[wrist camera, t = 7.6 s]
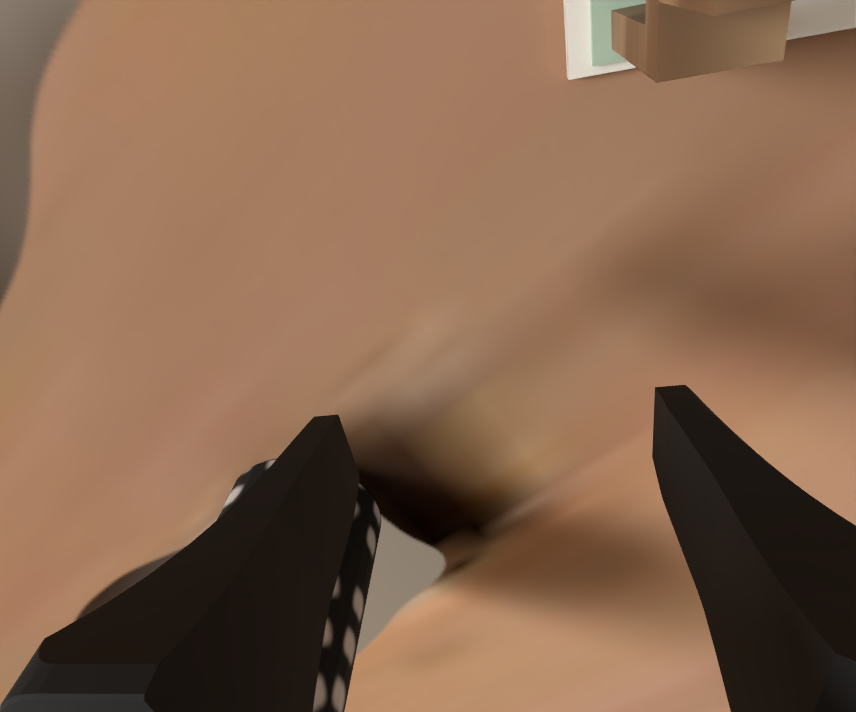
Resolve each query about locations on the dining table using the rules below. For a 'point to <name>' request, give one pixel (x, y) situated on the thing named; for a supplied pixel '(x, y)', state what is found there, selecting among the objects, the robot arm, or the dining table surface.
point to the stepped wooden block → (700, 35)
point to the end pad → (605, 29)
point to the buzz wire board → (809, 15)
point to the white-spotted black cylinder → (337, 594)
